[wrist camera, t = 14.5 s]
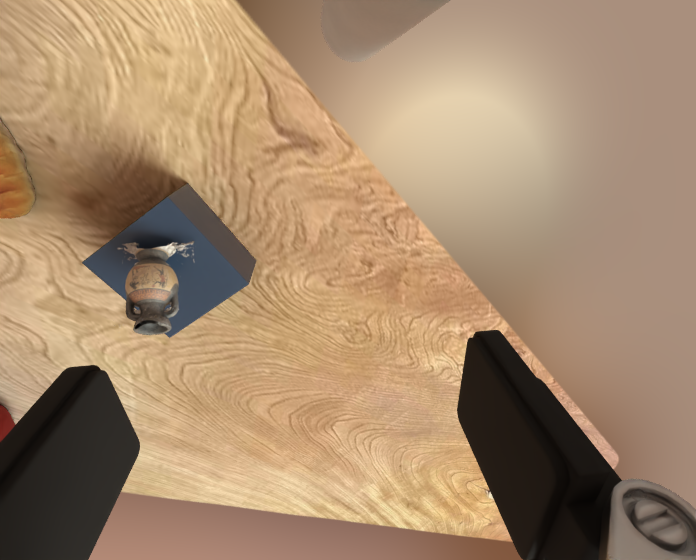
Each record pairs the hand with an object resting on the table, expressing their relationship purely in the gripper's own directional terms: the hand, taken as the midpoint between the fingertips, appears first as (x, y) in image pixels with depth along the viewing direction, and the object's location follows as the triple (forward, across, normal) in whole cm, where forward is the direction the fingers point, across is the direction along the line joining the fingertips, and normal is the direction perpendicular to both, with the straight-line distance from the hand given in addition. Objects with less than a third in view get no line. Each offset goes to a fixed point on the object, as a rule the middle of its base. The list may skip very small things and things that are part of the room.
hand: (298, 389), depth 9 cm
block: (+25, +12, +6) cm, 28 cm away
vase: (+20, +12, +6) cm, 24 cm away
